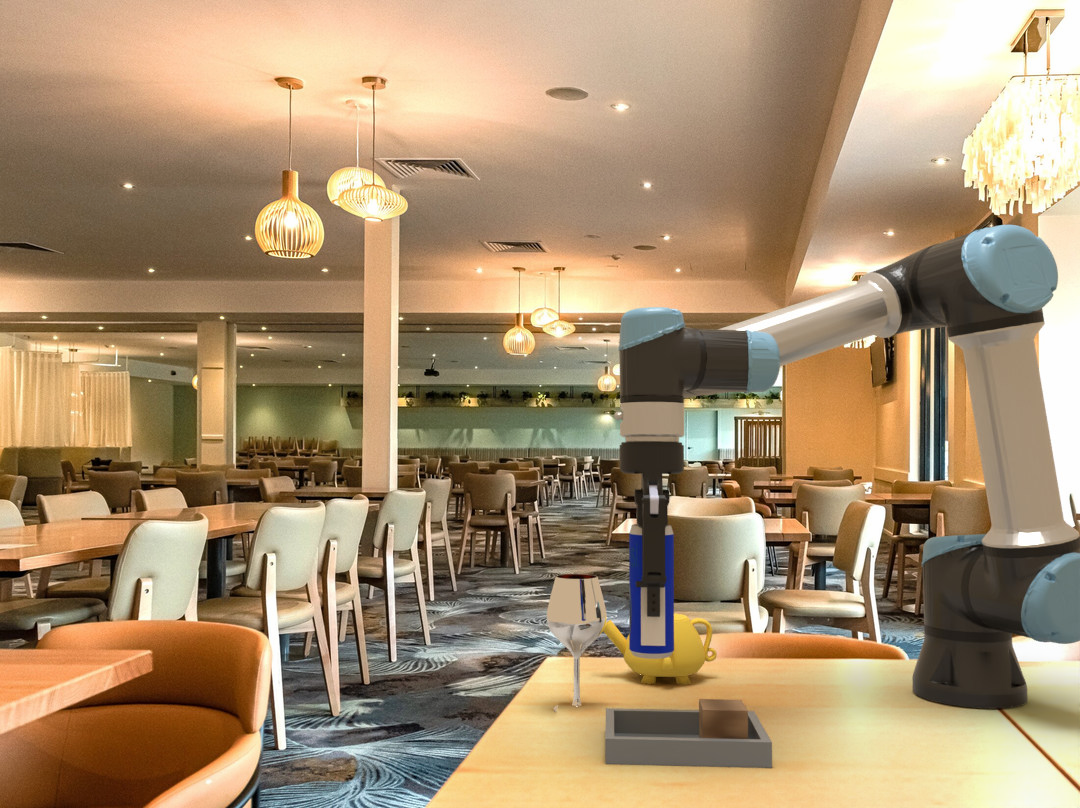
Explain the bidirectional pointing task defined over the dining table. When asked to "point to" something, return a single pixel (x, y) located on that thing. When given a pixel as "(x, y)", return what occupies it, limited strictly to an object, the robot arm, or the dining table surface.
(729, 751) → the tray
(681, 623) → the teapot
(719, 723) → the walnut block
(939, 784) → the dining table surface
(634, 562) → the beverage can
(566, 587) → the wineglass
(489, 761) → the dining table surface
